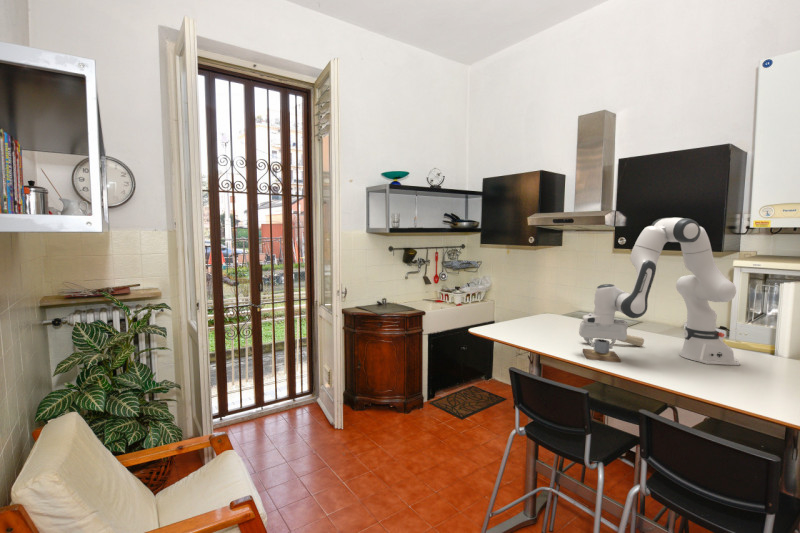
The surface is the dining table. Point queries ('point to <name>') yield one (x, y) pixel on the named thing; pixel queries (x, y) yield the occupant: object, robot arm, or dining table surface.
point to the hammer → (630, 339)
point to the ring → (601, 346)
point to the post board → (601, 355)
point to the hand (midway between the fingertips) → (601, 347)
